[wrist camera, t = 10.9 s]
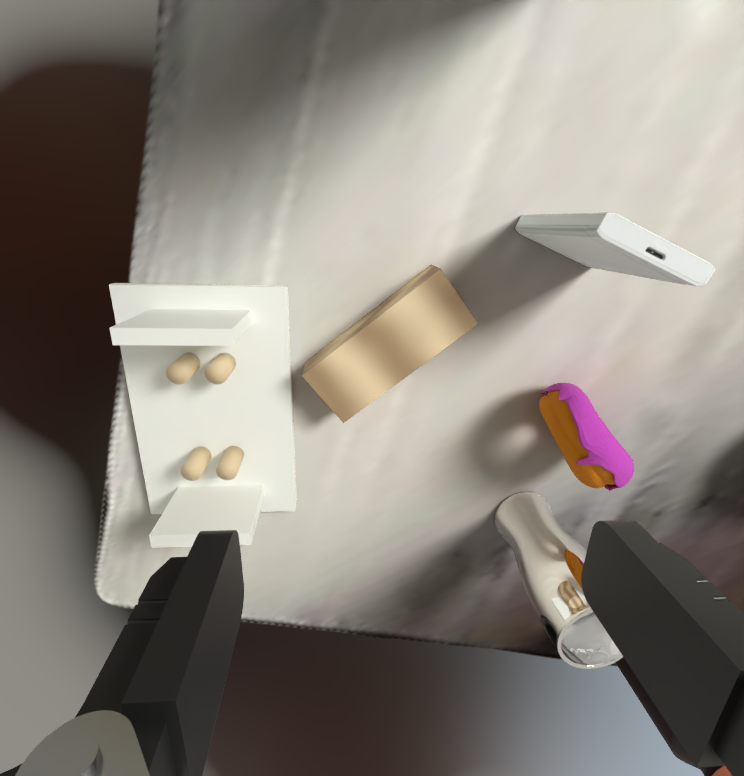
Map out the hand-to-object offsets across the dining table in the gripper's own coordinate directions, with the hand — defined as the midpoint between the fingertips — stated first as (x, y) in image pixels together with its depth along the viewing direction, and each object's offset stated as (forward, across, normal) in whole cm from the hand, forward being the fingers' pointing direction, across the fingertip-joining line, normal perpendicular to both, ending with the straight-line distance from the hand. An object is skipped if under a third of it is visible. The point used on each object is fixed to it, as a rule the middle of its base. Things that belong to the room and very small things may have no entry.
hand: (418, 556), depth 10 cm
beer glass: (+30, -18, +22) cm, 42 cm away
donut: (+30, -20, +10) cm, 38 cm away
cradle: (+30, +13, +9) cm, 34 cm away
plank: (+30, -2, +3) cm, 31 cm away
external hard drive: (+30, -17, -6) cm, 35 cm away
